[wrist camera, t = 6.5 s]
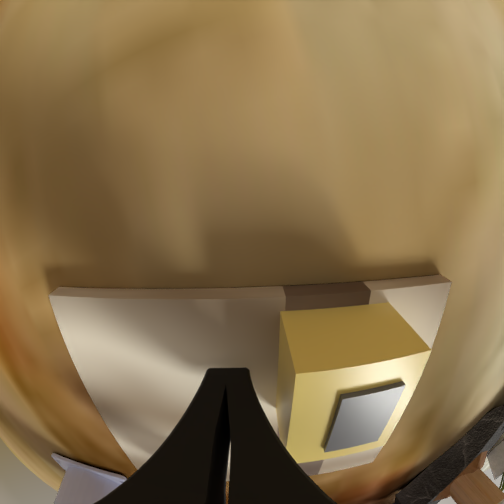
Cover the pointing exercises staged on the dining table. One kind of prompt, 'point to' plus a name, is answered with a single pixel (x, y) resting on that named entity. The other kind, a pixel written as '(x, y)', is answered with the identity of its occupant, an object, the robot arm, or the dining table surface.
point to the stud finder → (344, 378)
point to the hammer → (460, 469)
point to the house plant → (497, 462)
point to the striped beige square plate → (207, 346)
